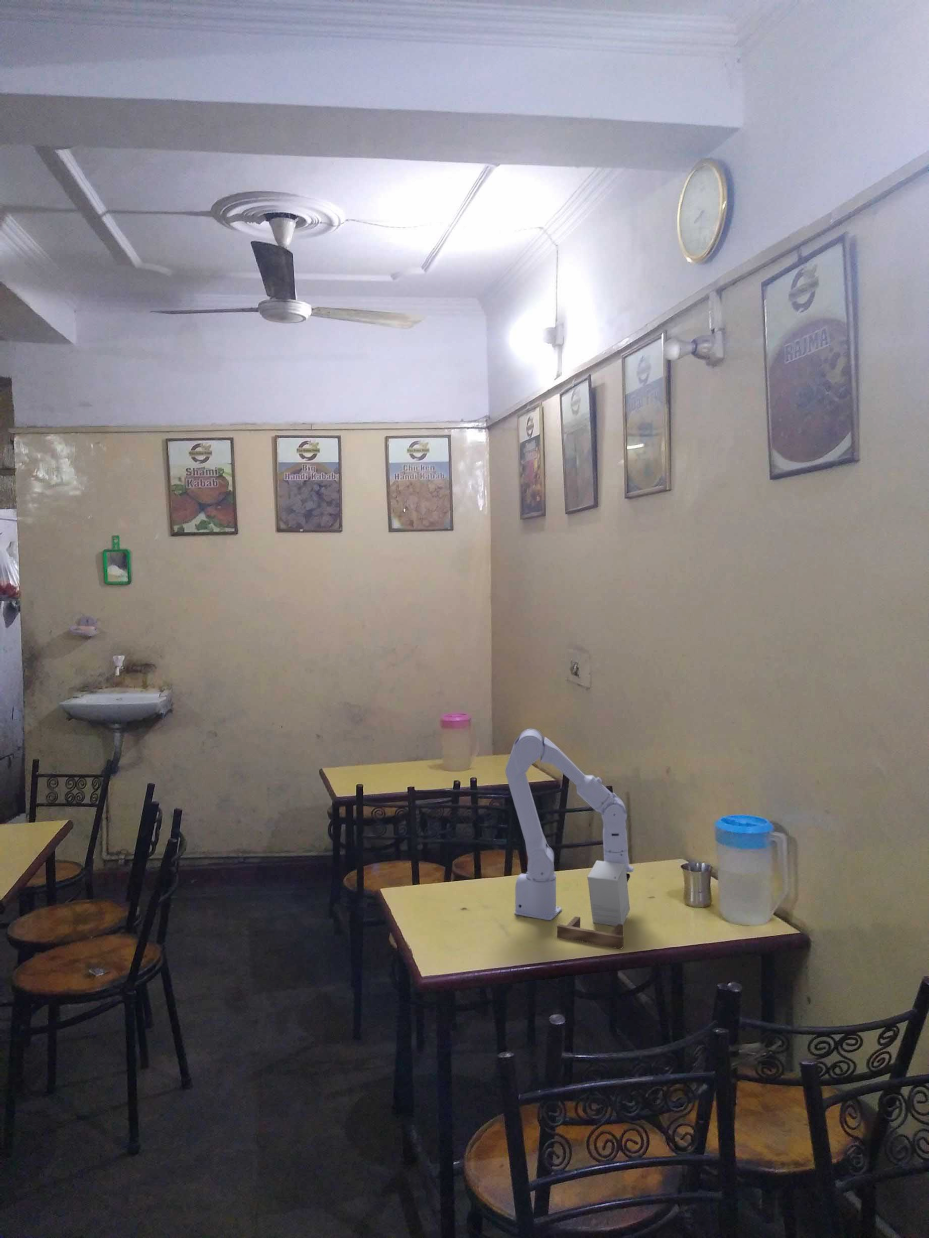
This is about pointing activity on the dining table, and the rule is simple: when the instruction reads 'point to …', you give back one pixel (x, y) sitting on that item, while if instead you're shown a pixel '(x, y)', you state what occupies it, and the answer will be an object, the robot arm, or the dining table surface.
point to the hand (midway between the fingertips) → (618, 904)
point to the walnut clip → (591, 934)
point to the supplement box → (608, 893)
